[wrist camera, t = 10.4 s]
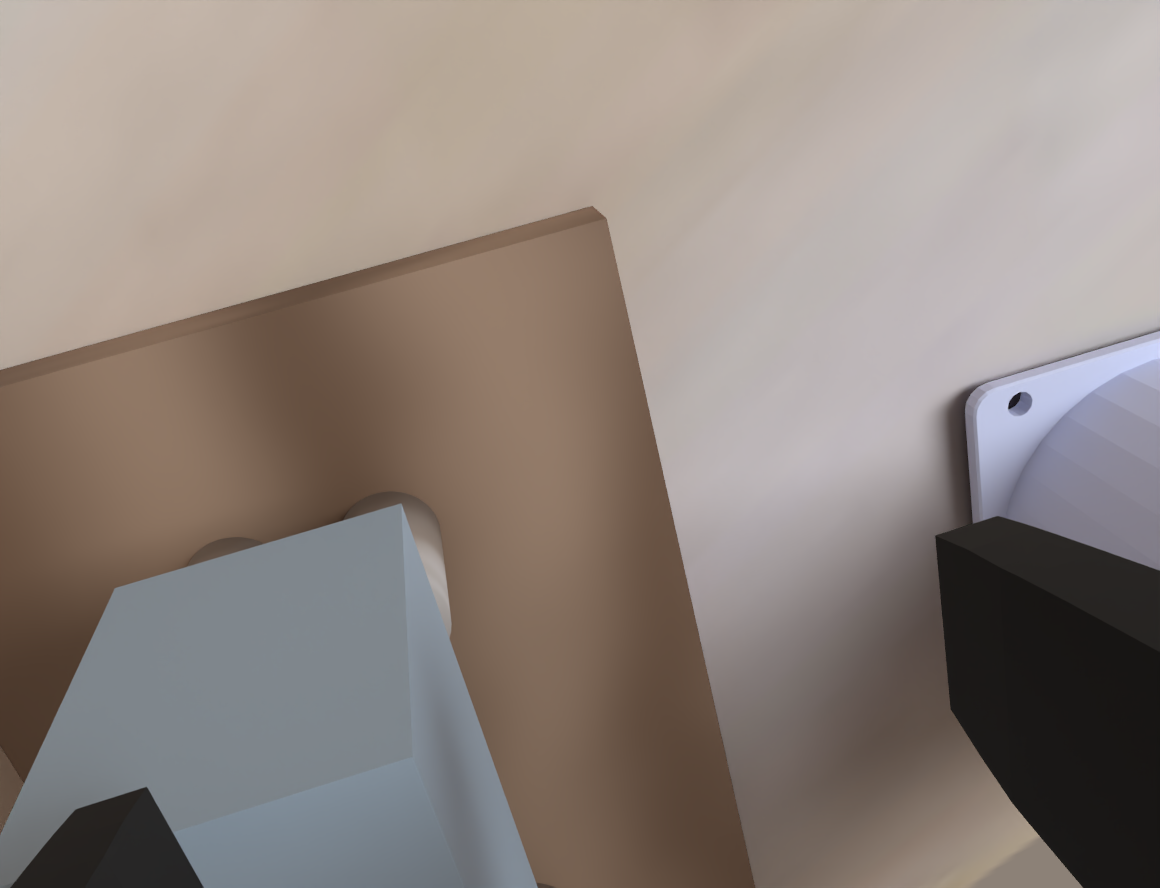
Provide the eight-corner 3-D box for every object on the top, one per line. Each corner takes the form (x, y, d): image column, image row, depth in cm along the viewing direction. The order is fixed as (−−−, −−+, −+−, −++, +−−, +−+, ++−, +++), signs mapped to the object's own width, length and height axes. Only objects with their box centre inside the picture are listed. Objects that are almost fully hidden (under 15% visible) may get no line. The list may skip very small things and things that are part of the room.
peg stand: (592, 205, 18) (651, 257, 14) (756, 932, 26) (823, 1091, 22) (-154, 412, 17) (-313, 529, 13) (259, 1099, 25) (238, 1297, 21)
